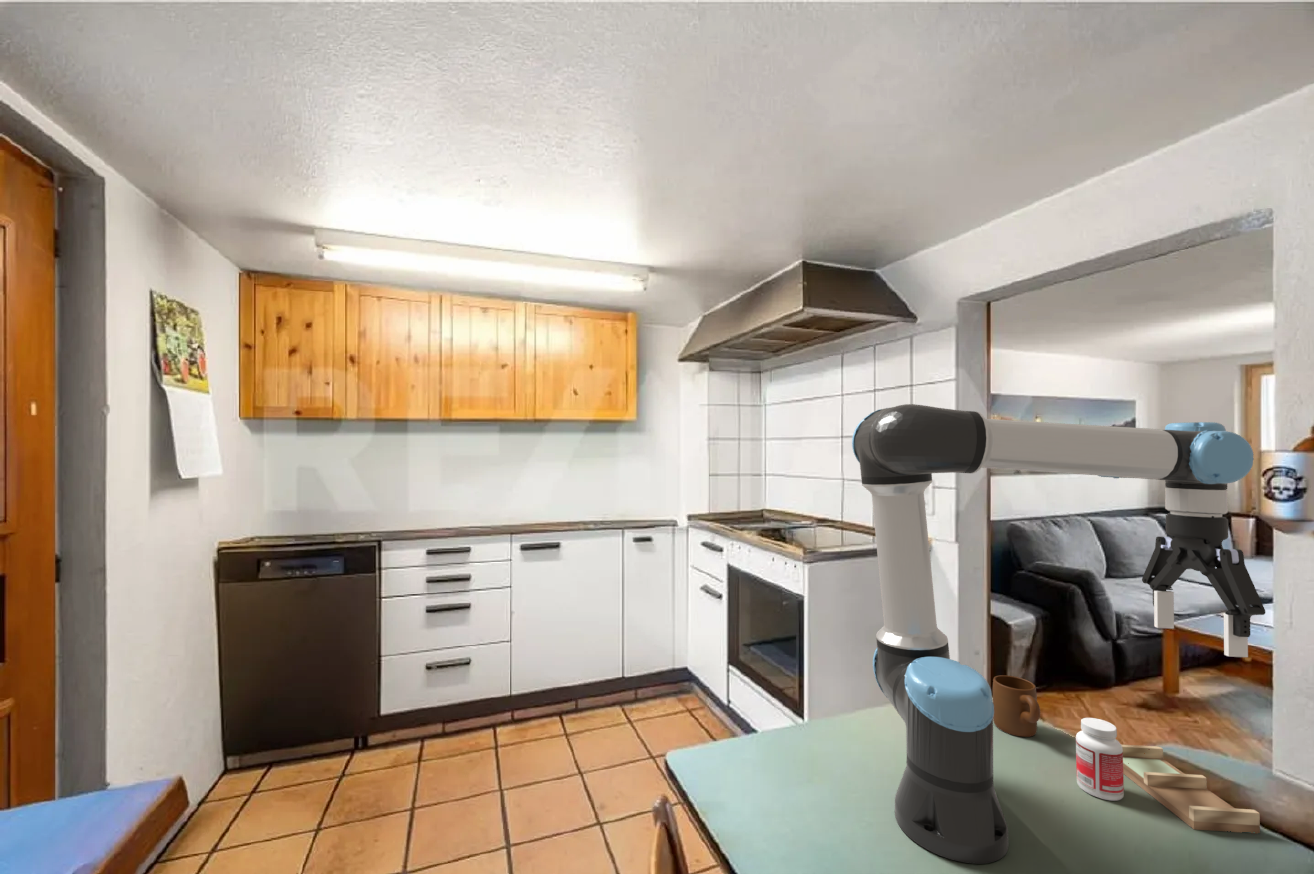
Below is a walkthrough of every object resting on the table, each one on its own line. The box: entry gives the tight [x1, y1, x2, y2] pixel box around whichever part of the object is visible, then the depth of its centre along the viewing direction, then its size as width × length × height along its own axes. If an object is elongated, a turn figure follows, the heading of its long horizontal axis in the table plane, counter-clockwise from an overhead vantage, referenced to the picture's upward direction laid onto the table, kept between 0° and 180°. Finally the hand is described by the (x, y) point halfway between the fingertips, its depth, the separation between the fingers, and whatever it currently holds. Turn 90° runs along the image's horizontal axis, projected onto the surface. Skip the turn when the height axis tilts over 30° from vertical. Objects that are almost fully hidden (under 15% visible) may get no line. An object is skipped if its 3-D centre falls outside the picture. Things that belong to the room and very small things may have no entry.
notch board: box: [1121, 744, 1261, 834], centre depth 91 cm, size 9×18×3 cm, turn 174°
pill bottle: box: [1075, 717, 1125, 802], centre depth 92 cm, size 6×6×11 cm
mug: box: [992, 674, 1041, 738], centre depth 110 cm, size 12×8×9 cm, turn 174°
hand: (1197, 641), depth 92 cm, fingers open, 13 cm apart
